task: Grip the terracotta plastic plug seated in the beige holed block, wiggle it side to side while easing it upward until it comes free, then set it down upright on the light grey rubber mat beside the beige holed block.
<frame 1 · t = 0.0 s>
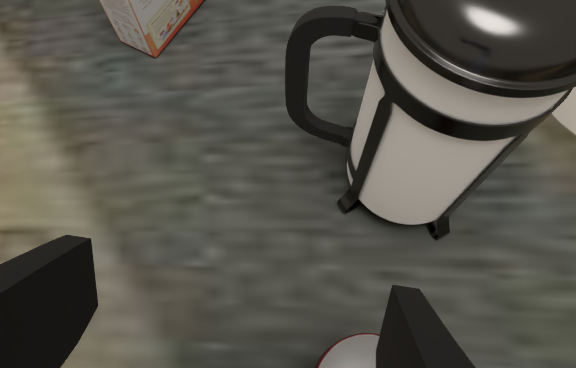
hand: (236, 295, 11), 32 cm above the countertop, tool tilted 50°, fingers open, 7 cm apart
cracker box: (169, 14, 57), on the countertop
coffee press: (386, 179, 47), on the countertop
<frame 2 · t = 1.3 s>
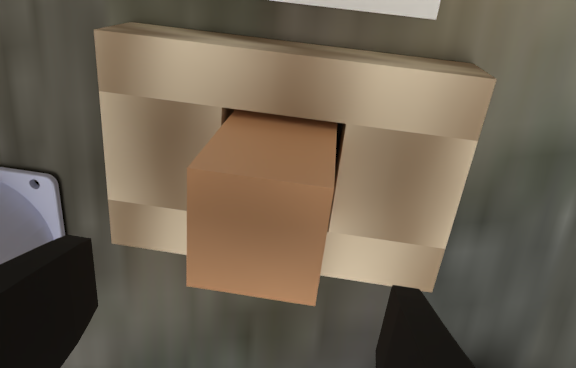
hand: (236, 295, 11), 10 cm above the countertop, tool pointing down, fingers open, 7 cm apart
plug: (274, 182, 16), in the beige holed block
beige holed block: (286, 146, 20), on the countertop
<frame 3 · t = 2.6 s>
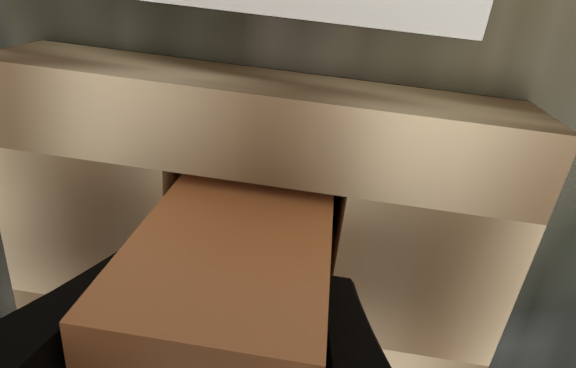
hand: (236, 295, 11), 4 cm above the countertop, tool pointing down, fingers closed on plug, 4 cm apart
plug: (240, 283, 11), in the beige holed block, touching gripper
beige holed block: (265, 208, 15), on the countertop
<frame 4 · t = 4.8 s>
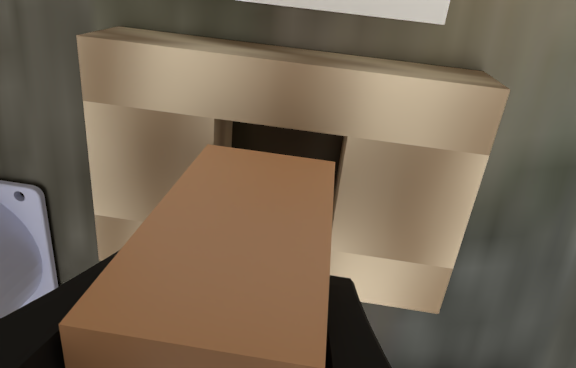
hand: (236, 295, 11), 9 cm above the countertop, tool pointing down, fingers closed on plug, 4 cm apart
plug: (239, 285, 11), point 9 cm above the countertop, touching gripper
beige holed block: (284, 157, 19), on the countertop
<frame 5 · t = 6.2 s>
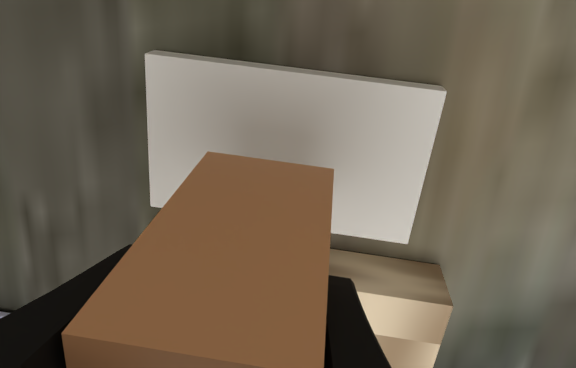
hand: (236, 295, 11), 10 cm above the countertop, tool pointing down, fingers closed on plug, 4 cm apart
mat: (286, 146, 20), on the countertop
plug: (239, 292, 11), point 10 cm above the countertop, touching gripper
beige holed block: (287, 313, 24), on the countertop
when the fingers open (7 cm above the countertop, at t = 7.2 s): plug drops 1 cm, resting on mat.
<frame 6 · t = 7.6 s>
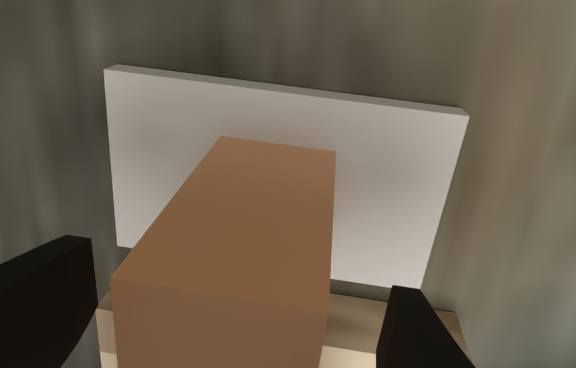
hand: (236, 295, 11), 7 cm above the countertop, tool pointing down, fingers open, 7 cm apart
mat: (276, 177, 17), on the countertop
plug: (252, 259, 12), on the mat, point 5 cm above the countertop
beige holed block: (279, 363, 21), on the countertop
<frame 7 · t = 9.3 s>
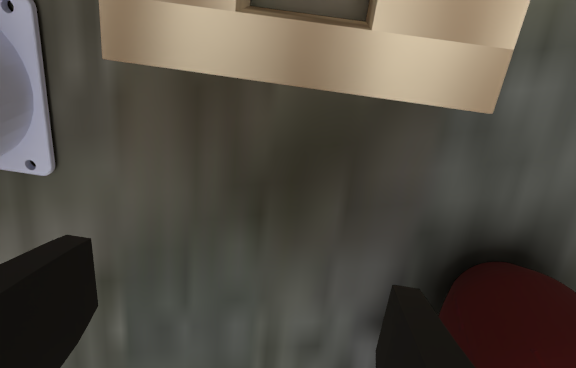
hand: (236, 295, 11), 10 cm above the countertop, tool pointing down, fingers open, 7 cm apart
mug: (465, 300, 23), on the countertop
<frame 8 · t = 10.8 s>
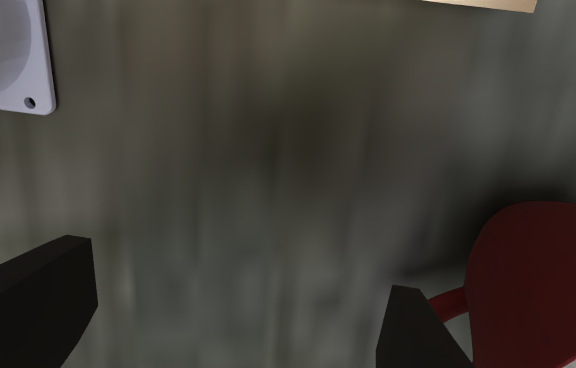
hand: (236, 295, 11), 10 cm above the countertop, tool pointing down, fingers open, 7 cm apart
mug: (495, 247, 21), on the countertop
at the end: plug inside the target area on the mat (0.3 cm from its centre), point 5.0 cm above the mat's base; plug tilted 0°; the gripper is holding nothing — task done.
